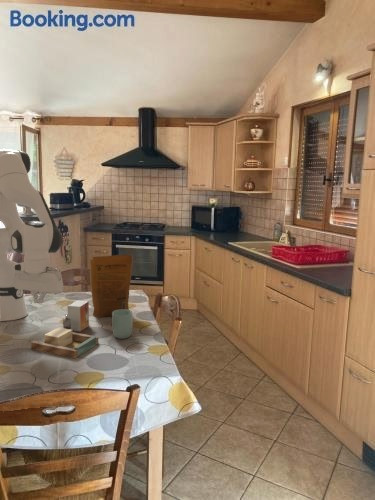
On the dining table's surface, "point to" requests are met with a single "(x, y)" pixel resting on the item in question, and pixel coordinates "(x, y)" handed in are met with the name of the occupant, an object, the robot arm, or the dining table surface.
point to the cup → (122, 323)
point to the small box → (79, 315)
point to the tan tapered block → (59, 337)
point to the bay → (69, 352)
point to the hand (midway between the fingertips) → (38, 302)
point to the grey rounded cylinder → (67, 322)
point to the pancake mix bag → (110, 283)
